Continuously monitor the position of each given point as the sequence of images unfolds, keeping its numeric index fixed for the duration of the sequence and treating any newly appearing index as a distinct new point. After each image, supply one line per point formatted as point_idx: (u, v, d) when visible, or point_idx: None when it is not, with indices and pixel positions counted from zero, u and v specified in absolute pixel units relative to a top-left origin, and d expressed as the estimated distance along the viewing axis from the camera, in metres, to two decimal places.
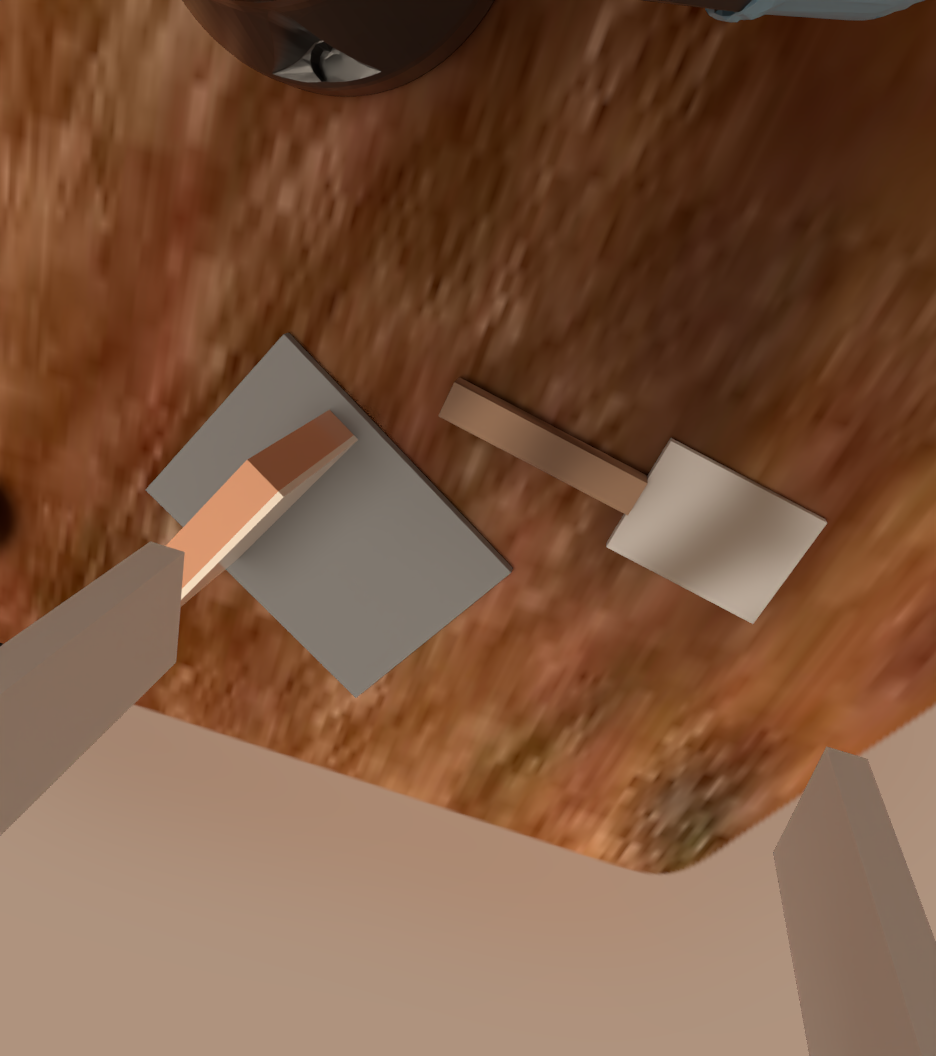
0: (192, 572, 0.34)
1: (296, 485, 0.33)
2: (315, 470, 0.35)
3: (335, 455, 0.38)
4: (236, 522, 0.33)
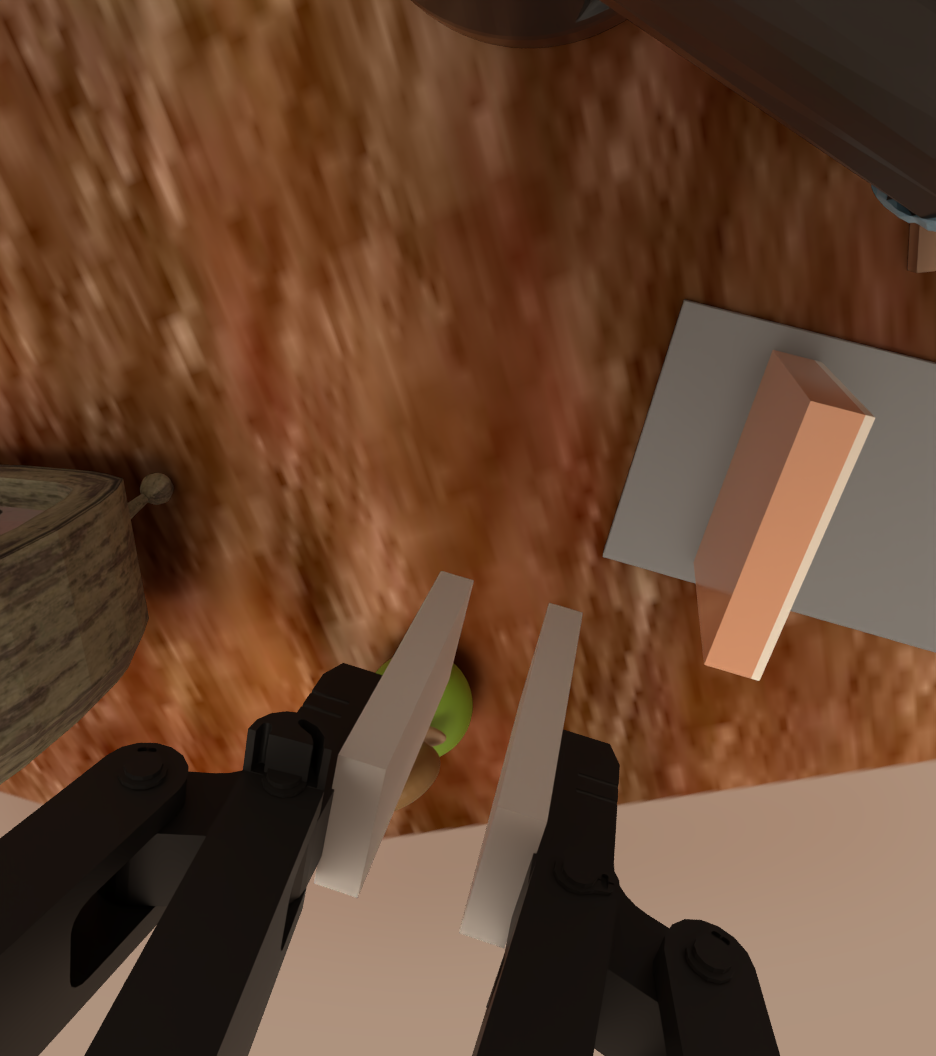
0: (791, 572, 0.28)
1: (863, 406, 0.27)
2: (849, 392, 0.28)
3: (835, 377, 0.31)
4: (825, 482, 0.26)
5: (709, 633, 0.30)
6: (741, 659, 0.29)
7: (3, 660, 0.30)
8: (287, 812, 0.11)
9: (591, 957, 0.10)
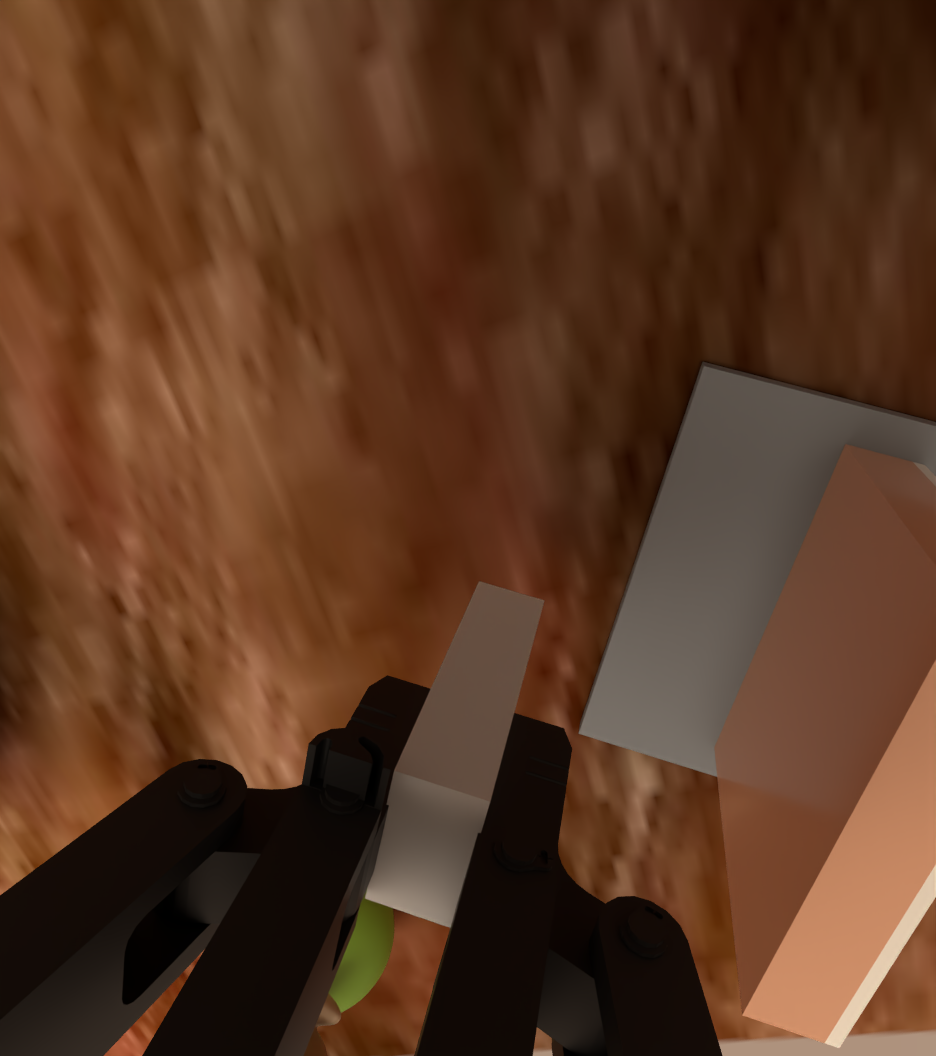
0: (908, 890, 0.15)
1: None
2: None
3: None
4: None
5: (750, 950, 0.18)
6: (808, 1014, 0.17)
7: None
8: (344, 830, 0.11)
9: (532, 932, 0.10)
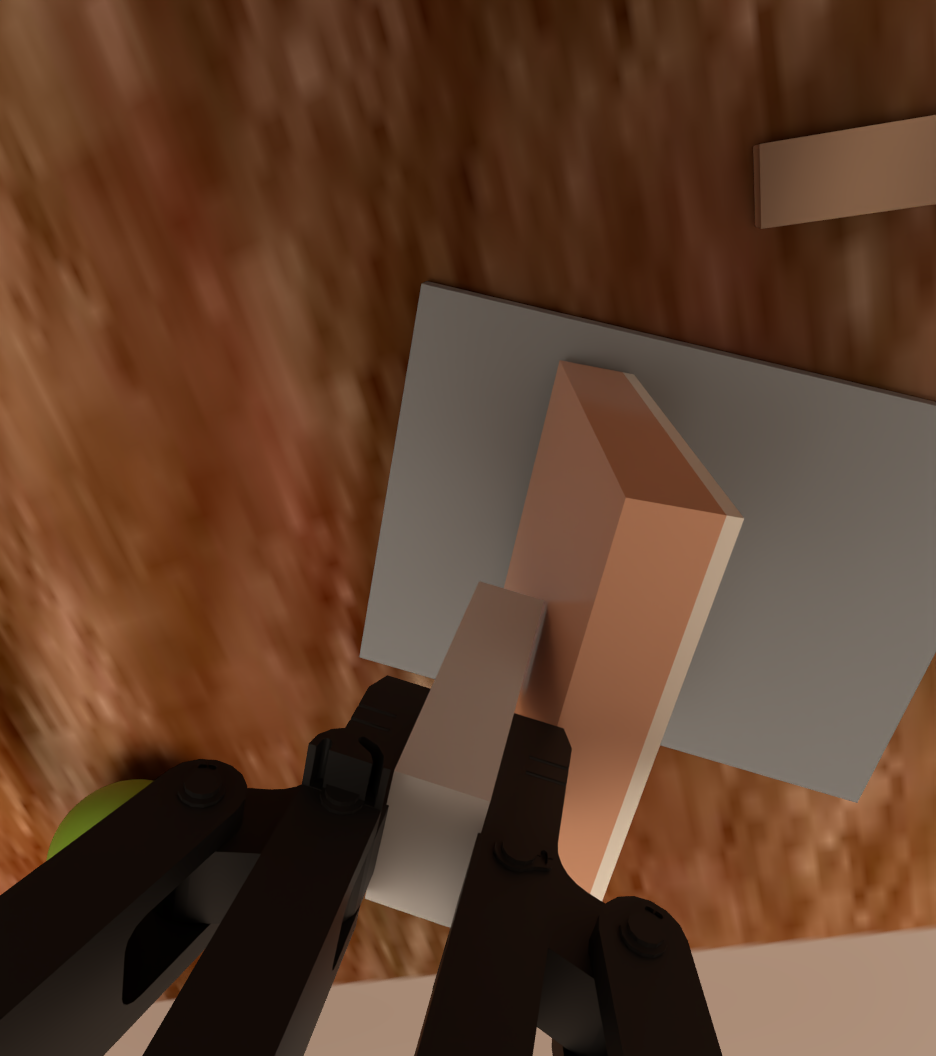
0: (622, 778, 0.16)
1: (716, 485, 0.15)
2: (685, 445, 0.17)
3: (658, 409, 0.19)
4: (665, 634, 0.14)
5: None
6: None
7: None
8: (344, 830, 0.11)
9: (532, 932, 0.10)
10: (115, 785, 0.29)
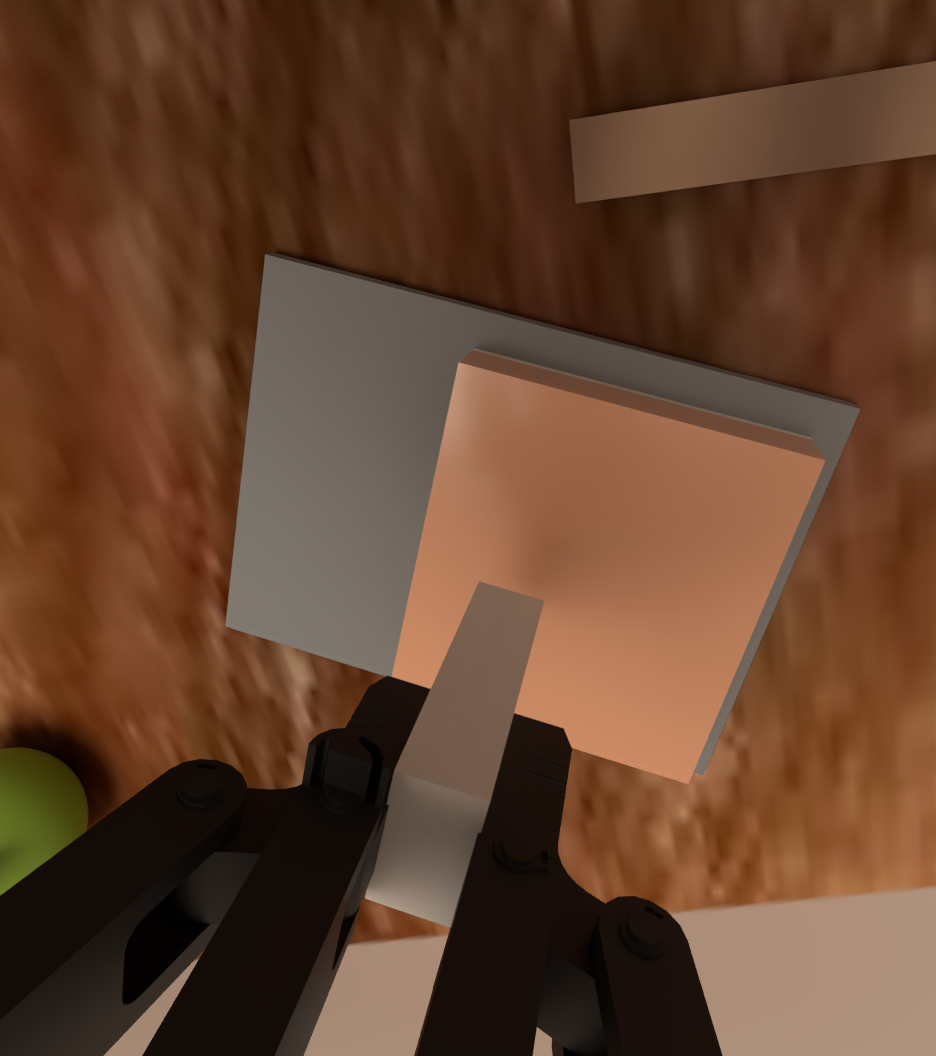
0: None
1: (758, 423, 0.21)
2: (677, 402, 0.21)
3: (585, 378, 0.22)
4: None
5: (663, 752, 0.23)
6: None
7: None
8: (344, 830, 0.11)
9: (532, 932, 0.10)
10: None
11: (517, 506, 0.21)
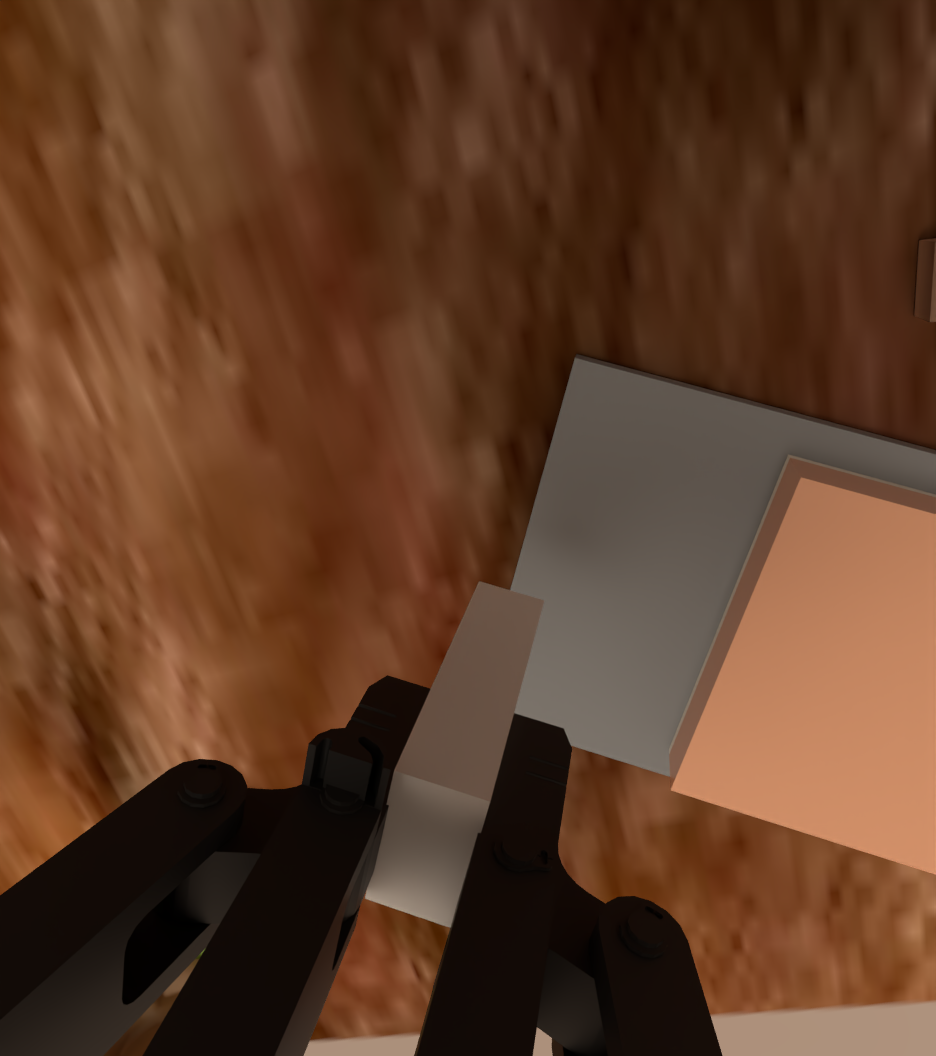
0: None
1: None
2: None
3: (905, 487, 0.22)
4: None
5: None
6: None
7: None
8: (344, 830, 0.11)
9: (532, 932, 0.10)
10: None
11: (841, 617, 0.21)
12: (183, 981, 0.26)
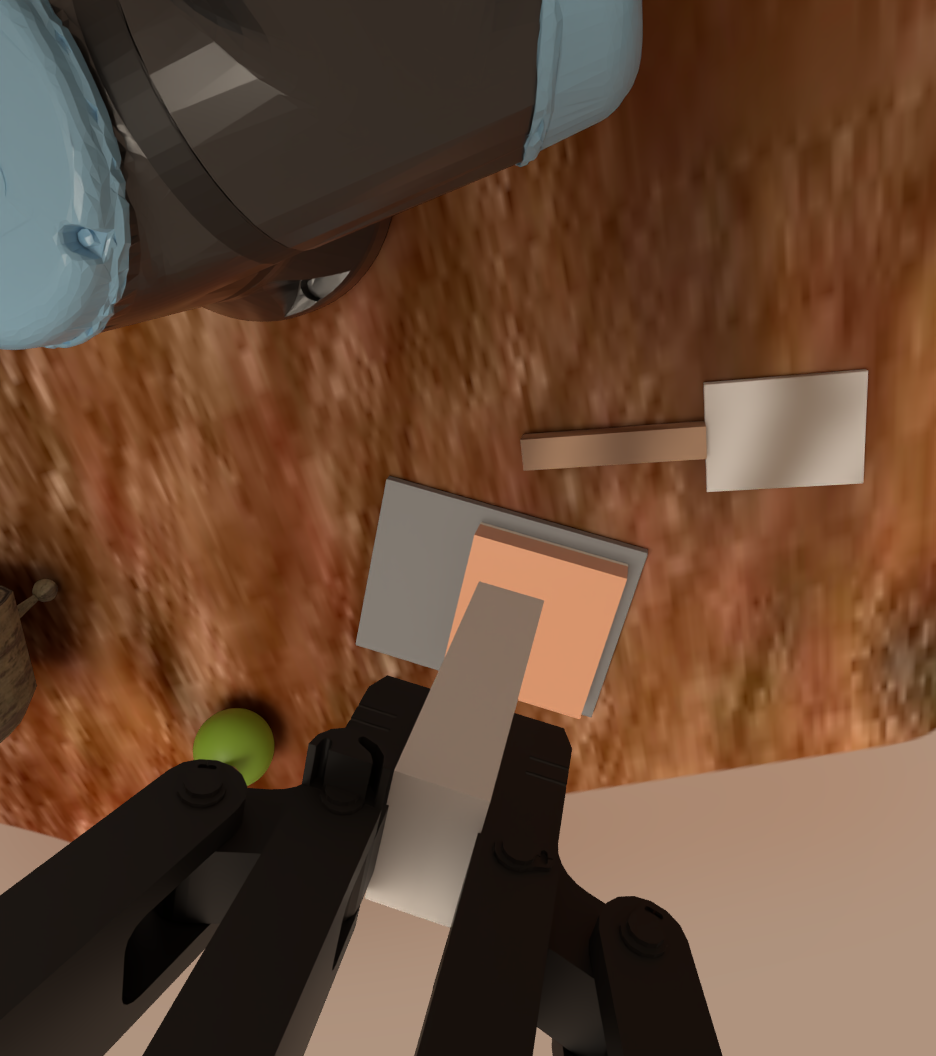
0: None
1: (605, 558, 0.48)
2: (570, 548, 0.48)
3: (530, 536, 0.49)
4: None
5: (567, 704, 0.50)
6: None
7: None
8: (344, 830, 0.11)
9: (532, 932, 0.10)
10: (227, 710, 0.57)
11: None
12: None
